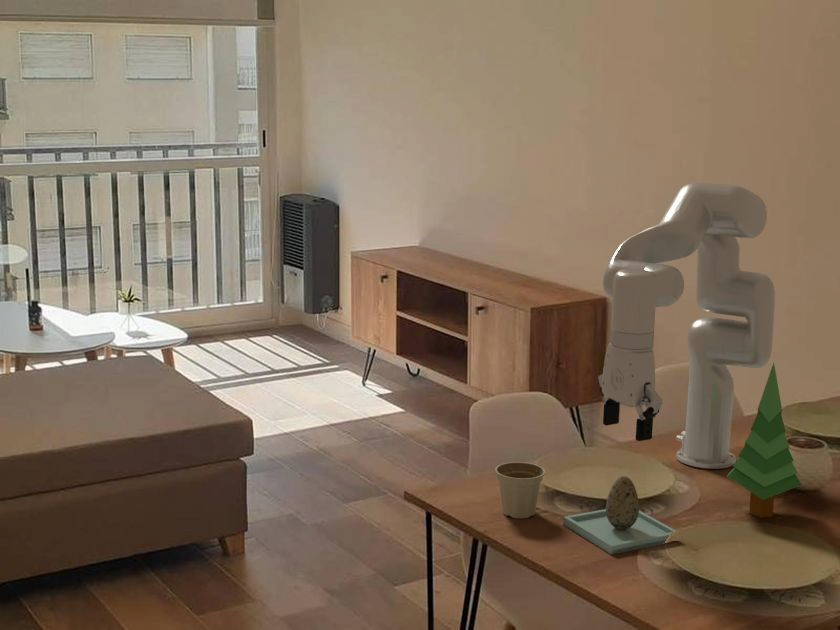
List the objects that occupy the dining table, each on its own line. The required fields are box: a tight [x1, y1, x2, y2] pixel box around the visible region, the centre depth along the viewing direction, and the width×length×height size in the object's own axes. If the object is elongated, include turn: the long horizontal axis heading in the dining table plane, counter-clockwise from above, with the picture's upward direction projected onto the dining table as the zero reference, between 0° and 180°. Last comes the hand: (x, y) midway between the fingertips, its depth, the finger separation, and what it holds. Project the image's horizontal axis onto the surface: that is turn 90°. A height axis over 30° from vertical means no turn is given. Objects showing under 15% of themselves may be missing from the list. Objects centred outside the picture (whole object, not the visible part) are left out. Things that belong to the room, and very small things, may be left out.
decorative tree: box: [726, 362, 803, 518], centre depth 224 cm, size 14×16×30 cm
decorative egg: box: [605, 475, 640, 530], centre depth 215 cm, size 6×6×10 cm
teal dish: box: [562, 508, 677, 556], centre depth 216 cm, size 15×15×2 cm
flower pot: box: [494, 461, 546, 519], centre depth 224 cm, size 9×9×9 cm
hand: (626, 431), depth 212 cm, fingers open, 9 cm apart
